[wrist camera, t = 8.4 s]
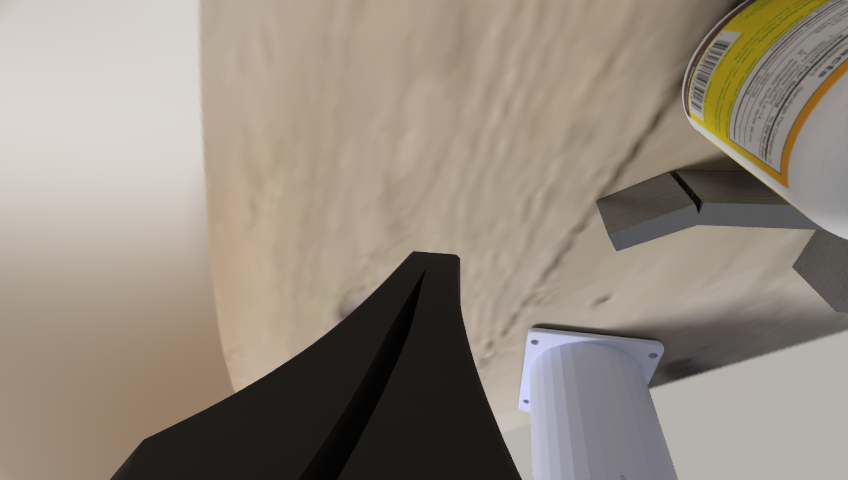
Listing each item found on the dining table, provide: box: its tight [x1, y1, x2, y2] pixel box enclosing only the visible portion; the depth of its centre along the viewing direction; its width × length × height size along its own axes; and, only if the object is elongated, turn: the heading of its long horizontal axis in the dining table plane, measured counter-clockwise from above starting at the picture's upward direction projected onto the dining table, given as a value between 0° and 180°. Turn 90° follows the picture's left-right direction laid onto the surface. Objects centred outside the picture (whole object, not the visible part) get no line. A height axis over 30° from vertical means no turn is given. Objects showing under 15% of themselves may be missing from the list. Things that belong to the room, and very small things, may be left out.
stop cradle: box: [596, 171, 848, 313], centre depth 12 cm, size 18×10×3 cm, turn 5°
